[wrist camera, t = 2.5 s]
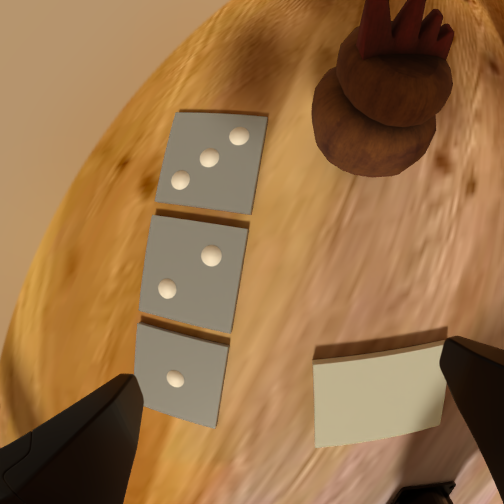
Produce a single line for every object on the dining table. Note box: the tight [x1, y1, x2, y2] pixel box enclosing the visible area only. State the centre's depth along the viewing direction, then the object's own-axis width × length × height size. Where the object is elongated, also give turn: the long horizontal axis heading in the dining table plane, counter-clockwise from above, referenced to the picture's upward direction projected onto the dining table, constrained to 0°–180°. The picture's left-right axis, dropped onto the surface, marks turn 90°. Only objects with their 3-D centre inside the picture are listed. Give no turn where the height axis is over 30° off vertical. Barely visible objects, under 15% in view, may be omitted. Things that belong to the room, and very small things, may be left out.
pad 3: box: [134, 322, 230, 429], centre depth 20 cm, size 7×7×1 cm
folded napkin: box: [313, 340, 447, 448], centre depth 18 cm, size 10×7×1 cm
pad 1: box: [155, 112, 268, 215], centre depth 20 cm, size 7×7×1 cm
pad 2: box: [139, 215, 249, 333], centre depth 20 cm, size 7×7×1 cm
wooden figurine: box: [312, 0, 454, 177], centre depth 11 cm, size 7×6×15 cm
